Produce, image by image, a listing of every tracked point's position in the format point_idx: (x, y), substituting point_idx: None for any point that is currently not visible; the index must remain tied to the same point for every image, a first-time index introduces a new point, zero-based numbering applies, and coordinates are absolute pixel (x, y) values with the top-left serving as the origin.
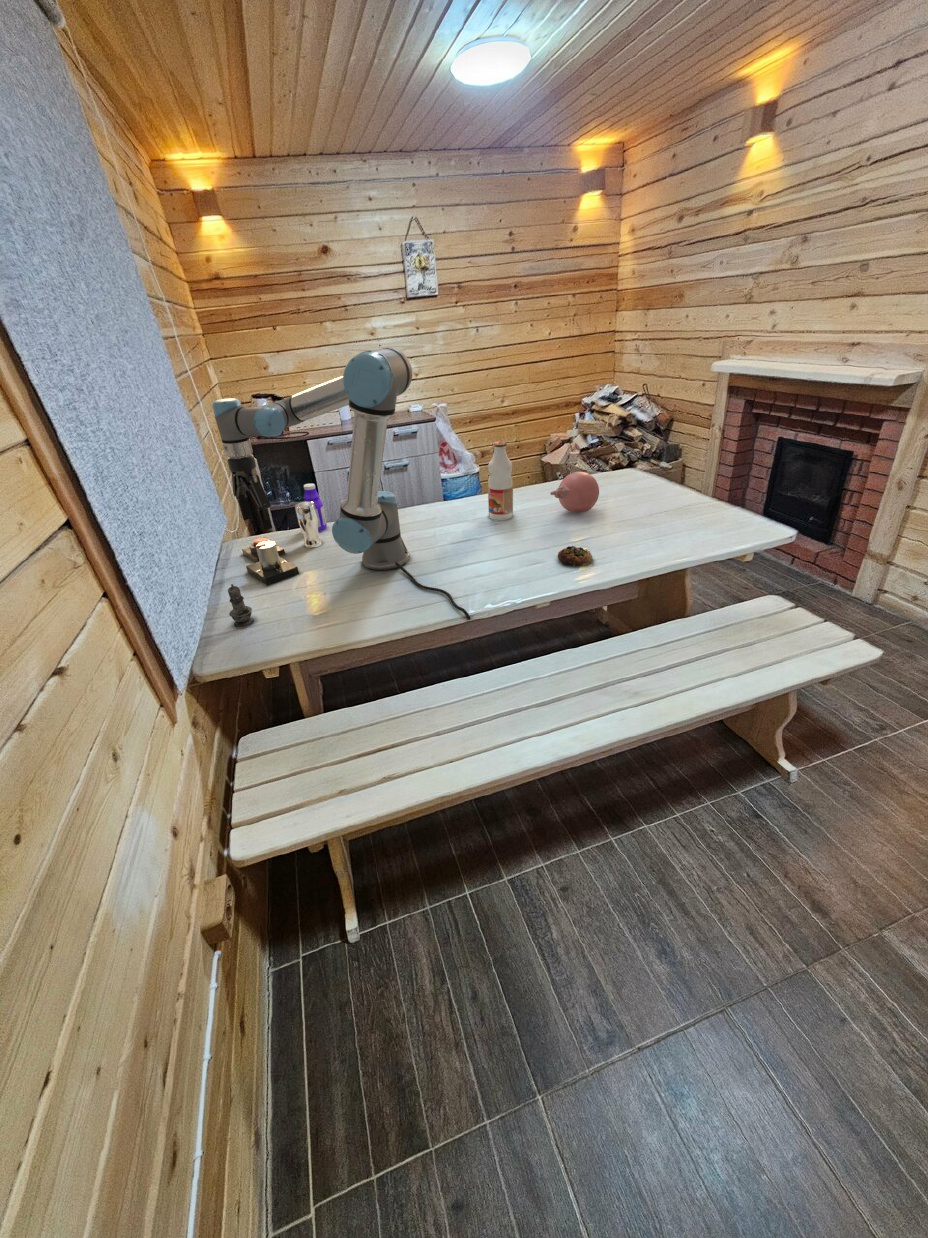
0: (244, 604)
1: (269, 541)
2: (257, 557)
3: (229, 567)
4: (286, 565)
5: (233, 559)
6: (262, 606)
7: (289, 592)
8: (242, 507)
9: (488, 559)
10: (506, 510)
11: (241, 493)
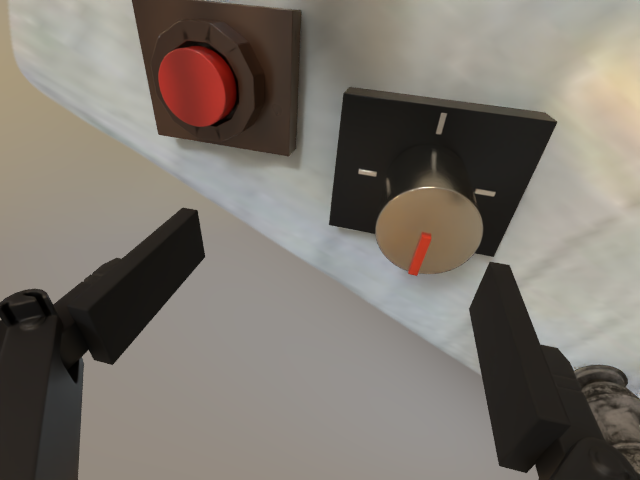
0: (637, 427)
1: (409, 198)
2: (282, 149)
3: (245, 215)
4: (487, 142)
5: (192, 173)
6: (584, 322)
7: (622, 236)
8: (151, 308)
9: None
10: None
11: (69, 417)
